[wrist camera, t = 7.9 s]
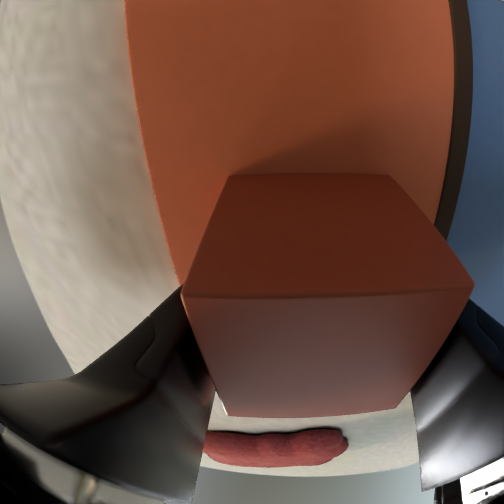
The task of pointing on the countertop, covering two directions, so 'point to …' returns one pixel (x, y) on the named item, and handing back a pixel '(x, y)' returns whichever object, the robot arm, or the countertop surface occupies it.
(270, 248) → the terracotta block
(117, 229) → the countertop surface
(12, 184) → the countertop surface
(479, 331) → the robot arm
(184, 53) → the sorting mat
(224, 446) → the red lumpy blob
